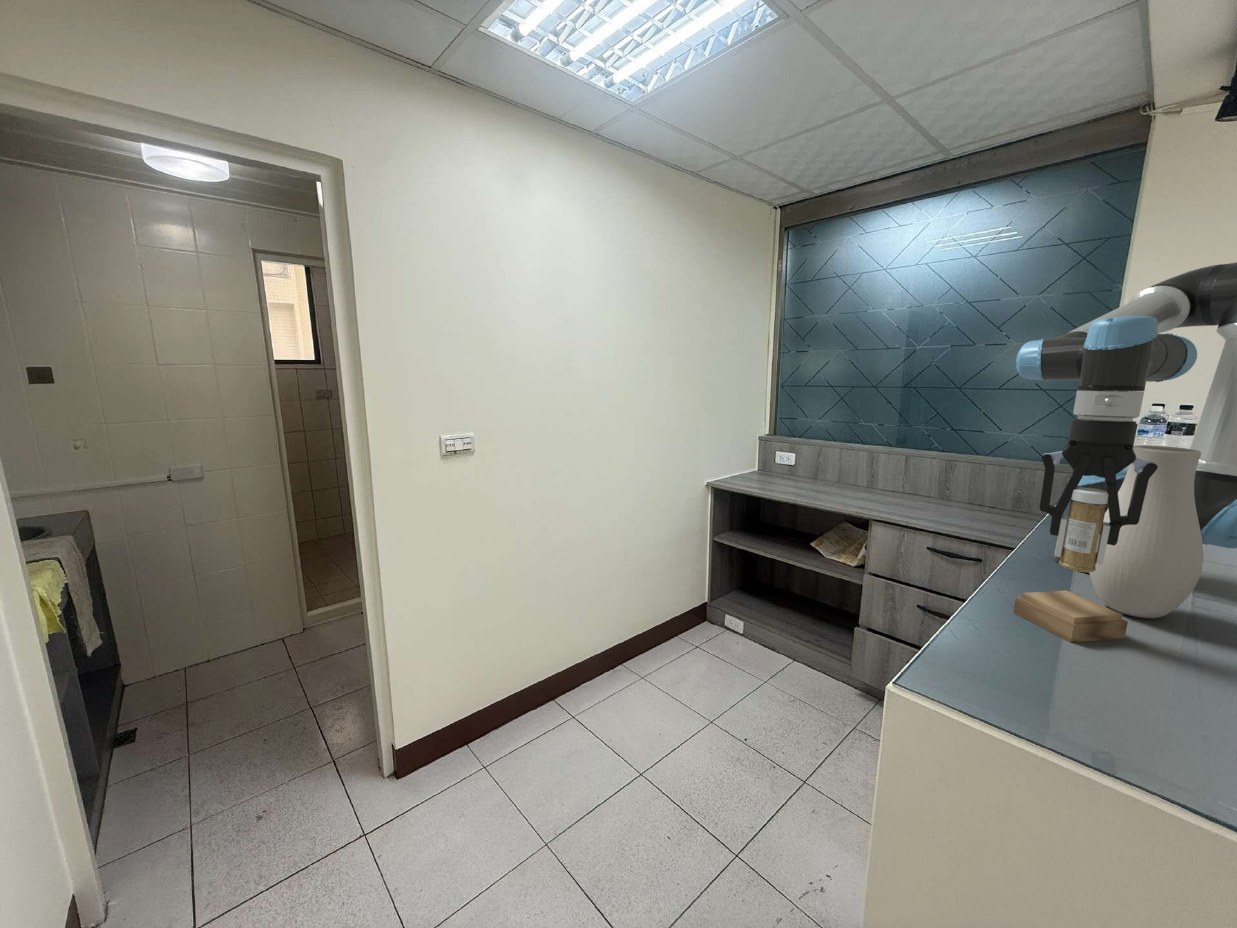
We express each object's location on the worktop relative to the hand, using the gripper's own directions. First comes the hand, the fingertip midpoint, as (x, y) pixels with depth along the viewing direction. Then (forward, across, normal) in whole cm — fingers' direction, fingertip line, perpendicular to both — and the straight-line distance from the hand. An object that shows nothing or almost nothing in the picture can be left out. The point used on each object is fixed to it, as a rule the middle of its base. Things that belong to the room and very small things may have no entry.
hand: (1078, 558), depth 81 cm
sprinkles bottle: (+2, 0, 0) cm, 2 cm away
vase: (+12, +9, +15) cm, 21 cm away
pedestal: (+12, 0, 0) cm, 12 cm away
